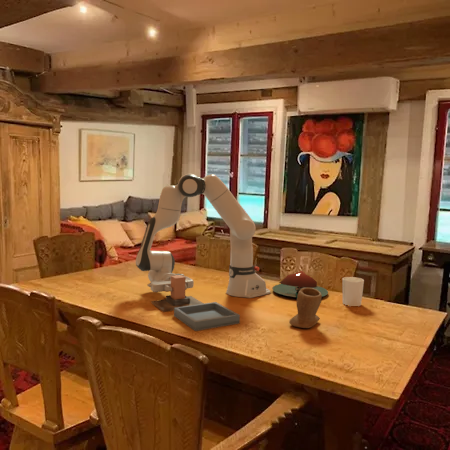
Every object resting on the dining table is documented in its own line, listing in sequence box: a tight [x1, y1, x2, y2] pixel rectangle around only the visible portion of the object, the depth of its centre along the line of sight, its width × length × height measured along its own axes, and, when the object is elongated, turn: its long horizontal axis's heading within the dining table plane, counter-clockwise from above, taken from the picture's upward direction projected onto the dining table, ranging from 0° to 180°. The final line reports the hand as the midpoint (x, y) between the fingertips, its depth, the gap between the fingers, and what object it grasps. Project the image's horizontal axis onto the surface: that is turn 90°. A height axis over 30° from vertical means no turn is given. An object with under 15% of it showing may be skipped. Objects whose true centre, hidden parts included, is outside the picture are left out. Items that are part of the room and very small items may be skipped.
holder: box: [150, 294, 205, 313], centre depth 212 cm, size 20×14×4 cm
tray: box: [173, 301, 241, 332], centre depth 192 cm, size 20×20×4 cm
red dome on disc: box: [272, 270, 329, 298], centre depth 236 cm, size 28×28×11 cm
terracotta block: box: [170, 275, 187, 300], centre depth 211 cm, size 5×5×12 cm
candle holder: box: [342, 276, 365, 307], centre depth 219 cm, size 10×10×12 cm
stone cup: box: [288, 288, 323, 329], centre depth 189 cm, size 15×12×15 cm
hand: (178, 288), depth 210 cm, fingers closed on terracotta block, 5 cm apart
